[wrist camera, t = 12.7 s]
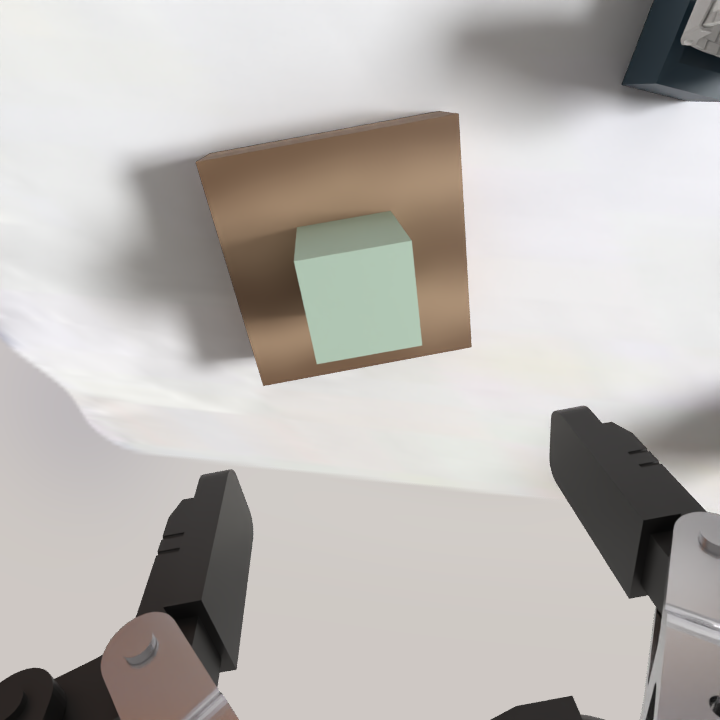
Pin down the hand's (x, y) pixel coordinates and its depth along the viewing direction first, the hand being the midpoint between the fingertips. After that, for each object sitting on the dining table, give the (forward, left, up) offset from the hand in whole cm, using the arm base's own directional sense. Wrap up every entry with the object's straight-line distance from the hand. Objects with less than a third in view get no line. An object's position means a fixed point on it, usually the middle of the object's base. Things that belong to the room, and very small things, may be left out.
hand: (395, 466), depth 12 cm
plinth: (0, 0, -21) cm, 21 cm away
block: (0, 0, -17) cm, 17 cm away
